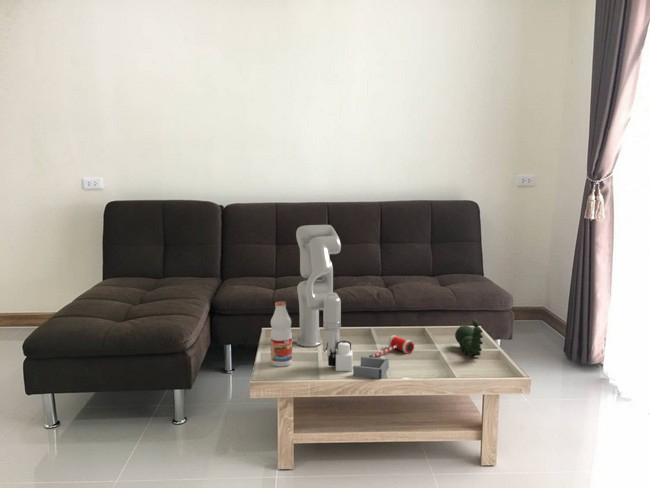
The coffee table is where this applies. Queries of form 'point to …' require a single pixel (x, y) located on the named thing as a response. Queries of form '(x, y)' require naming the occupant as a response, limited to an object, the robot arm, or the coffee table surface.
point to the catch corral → (368, 371)
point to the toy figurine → (469, 339)
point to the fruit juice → (281, 336)
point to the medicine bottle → (344, 356)
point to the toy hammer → (397, 345)
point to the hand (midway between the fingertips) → (332, 365)
